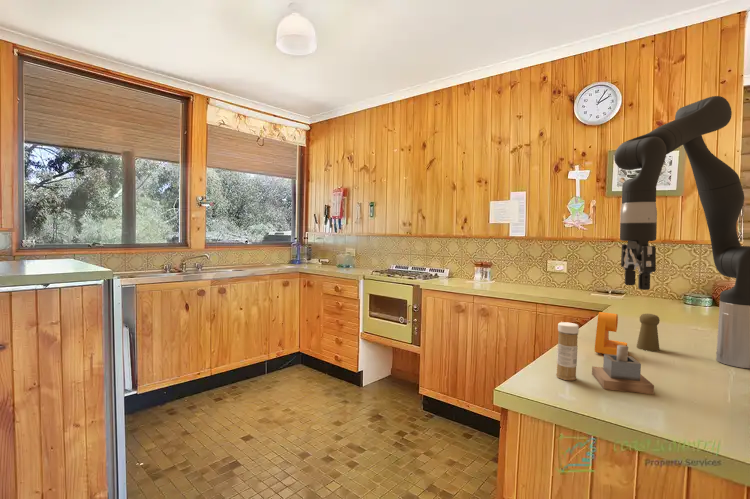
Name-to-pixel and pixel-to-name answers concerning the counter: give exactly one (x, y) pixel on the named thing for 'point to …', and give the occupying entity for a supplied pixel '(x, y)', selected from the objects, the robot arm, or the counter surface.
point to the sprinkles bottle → (567, 351)
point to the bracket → (606, 334)
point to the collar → (622, 368)
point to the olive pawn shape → (648, 333)
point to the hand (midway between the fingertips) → (636, 287)
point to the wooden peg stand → (622, 384)
